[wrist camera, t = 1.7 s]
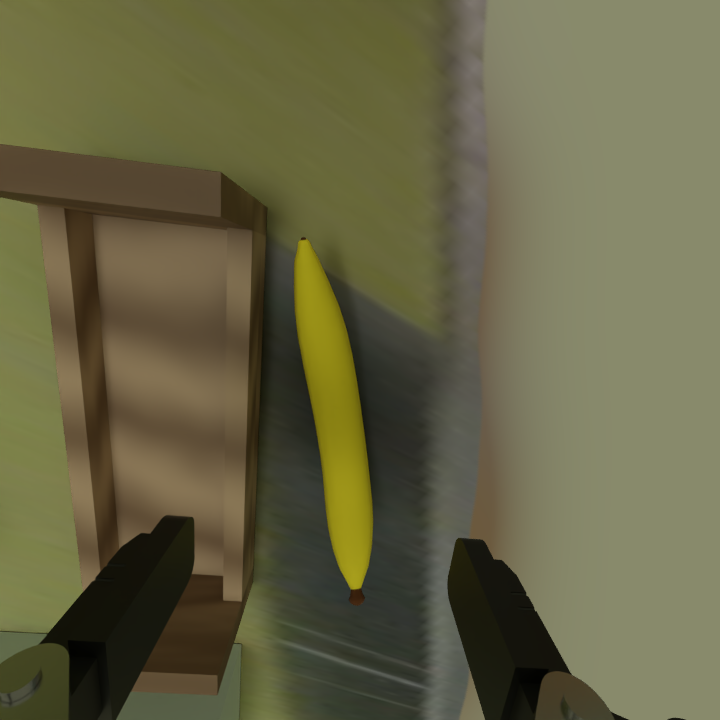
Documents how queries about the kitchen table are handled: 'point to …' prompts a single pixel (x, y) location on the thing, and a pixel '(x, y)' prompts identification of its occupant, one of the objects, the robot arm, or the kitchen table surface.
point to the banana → (335, 417)
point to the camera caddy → (159, 710)
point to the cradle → (157, 375)
